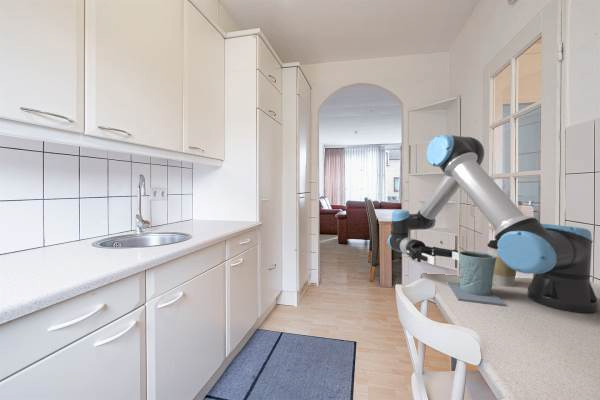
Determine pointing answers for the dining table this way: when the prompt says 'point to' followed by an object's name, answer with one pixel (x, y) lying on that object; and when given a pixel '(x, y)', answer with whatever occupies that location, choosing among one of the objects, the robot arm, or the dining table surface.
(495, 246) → the coffee cup
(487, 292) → the embossed teal cup
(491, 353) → the dining table surface
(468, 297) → the slate mat
